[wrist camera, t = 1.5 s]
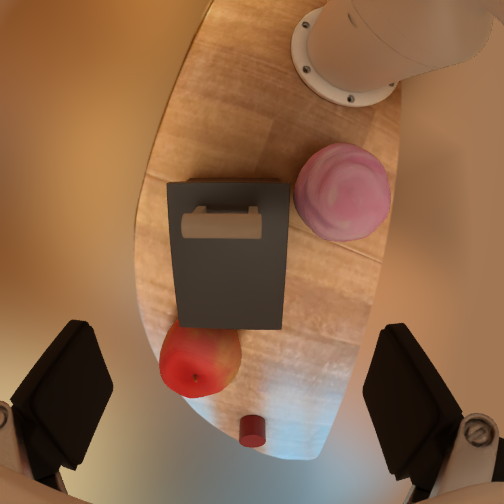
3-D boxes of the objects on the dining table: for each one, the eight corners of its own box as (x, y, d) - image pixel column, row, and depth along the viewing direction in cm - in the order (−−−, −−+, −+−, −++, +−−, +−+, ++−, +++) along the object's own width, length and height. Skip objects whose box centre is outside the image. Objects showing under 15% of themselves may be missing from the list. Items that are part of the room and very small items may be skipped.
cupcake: (319, 127, 29) (348, 122, 20) (377, 176, 31) (422, 193, 21) (270, 192, 31) (278, 215, 22) (331, 236, 33) (359, 274, 24)
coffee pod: (239, 414, 45) (238, 434, 41) (265, 414, 45) (266, 435, 41) (240, 428, 46) (239, 447, 42) (264, 428, 46) (265, 447, 42)
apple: (203, 364, 40) (193, 417, 31) (156, 321, 38) (133, 371, 28) (256, 333, 38) (257, 389, 29) (207, 283, 35) (193, 333, 26)
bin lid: (169, 181, 23) (144, 195, 17) (289, 181, 23) (300, 195, 17) (181, 322, 28) (167, 362, 22) (280, 325, 28) (286, 366, 22)
